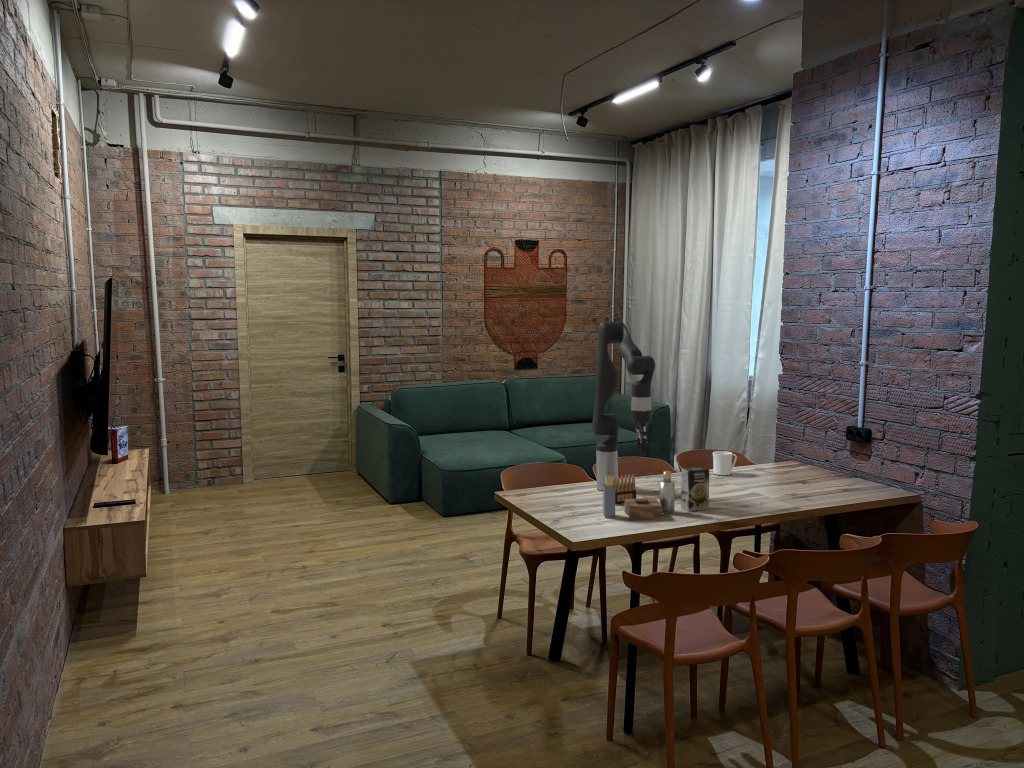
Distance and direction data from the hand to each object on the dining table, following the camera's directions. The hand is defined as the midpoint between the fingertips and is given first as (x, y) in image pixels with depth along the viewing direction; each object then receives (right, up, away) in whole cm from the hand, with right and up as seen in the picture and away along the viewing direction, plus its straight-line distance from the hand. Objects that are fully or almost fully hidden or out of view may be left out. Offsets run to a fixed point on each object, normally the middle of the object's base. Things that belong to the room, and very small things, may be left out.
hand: (641, 451), depth 274 cm
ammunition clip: (-4, -23, +19) cm, 31 cm away
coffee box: (+23, -24, +9) cm, 34 cm away
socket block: (+1, -25, +2) cm, 25 cm away
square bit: (-12, -25, +1) cm, 28 cm away
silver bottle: (+11, -24, +5) cm, 27 cm away
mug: (+51, -17, +66) cm, 85 cm away
